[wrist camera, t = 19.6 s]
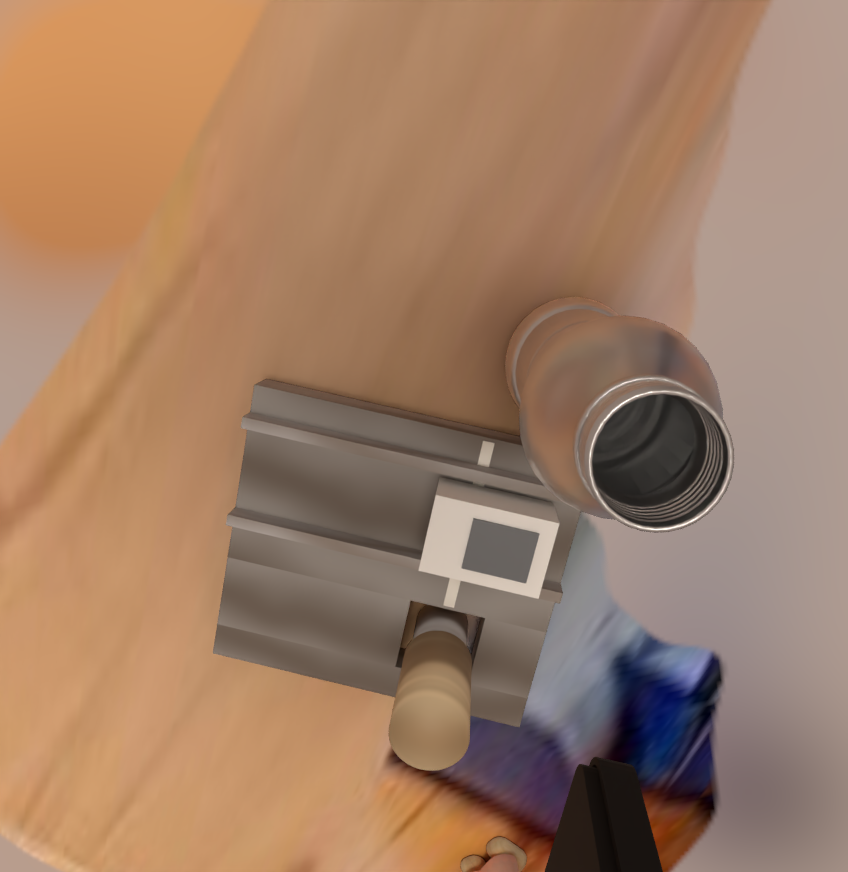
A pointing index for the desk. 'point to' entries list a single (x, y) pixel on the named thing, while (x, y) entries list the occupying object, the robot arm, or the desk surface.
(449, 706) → the tan cylinder
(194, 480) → the desk surface
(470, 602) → the grey ridged panel
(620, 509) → the plastic bottle
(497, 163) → the desk surface
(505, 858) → the grandmother figurine
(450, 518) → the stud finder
